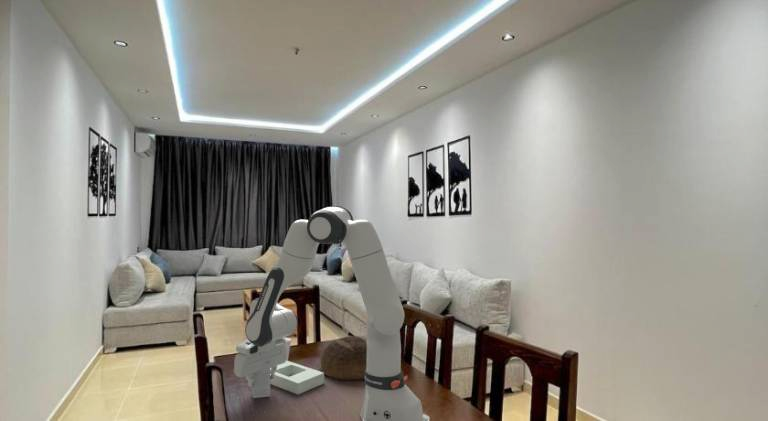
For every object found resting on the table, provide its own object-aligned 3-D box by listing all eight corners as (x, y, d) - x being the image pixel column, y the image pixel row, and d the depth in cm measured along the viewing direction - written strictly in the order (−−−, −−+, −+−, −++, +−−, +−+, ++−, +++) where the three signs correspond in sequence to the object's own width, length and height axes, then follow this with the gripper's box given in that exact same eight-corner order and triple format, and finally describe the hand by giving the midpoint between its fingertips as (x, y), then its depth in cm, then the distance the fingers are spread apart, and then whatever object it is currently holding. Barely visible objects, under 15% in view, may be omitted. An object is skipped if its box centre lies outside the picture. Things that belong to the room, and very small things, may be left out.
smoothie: (287, 365, 184) (287, 332, 184) (272, 364, 185) (273, 330, 185) (293, 360, 190) (293, 328, 190) (279, 359, 192) (280, 326, 192)
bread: (364, 355, 199) (365, 326, 199) (397, 375, 176) (397, 342, 176) (310, 365, 185) (311, 334, 185) (338, 387, 162) (339, 352, 162)
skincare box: (269, 392, 157) (270, 358, 157) (270, 397, 153) (270, 362, 153) (252, 393, 155) (252, 359, 155) (251, 398, 151) (252, 363, 151)
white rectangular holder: (323, 383, 166) (324, 372, 166) (297, 394, 155) (298, 383, 155) (283, 369, 180) (283, 359, 180) (256, 378, 169) (257, 368, 169)
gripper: (279, 334, 164) (278, 371, 164) (231, 347, 148) (230, 388, 148) (290, 337, 161) (290, 375, 161) (243, 351, 144) (242, 393, 144)
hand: (261, 382), depth 154 cm, fingers closed on skincare box, 7 cm apart
